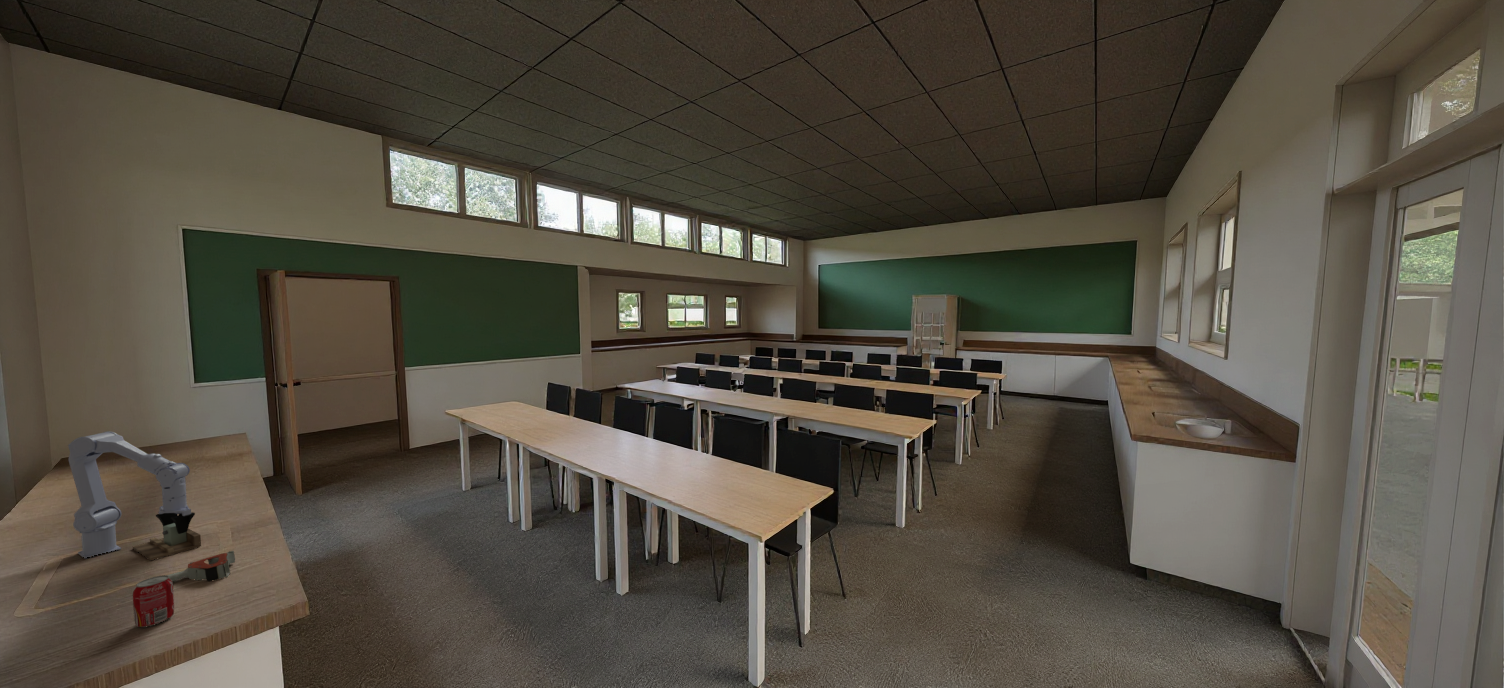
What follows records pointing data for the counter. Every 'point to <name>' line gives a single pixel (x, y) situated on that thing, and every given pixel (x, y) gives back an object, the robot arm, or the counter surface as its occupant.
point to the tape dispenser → (207, 568)
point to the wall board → (167, 546)
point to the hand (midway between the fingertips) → (176, 531)
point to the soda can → (153, 601)
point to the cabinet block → (173, 535)
